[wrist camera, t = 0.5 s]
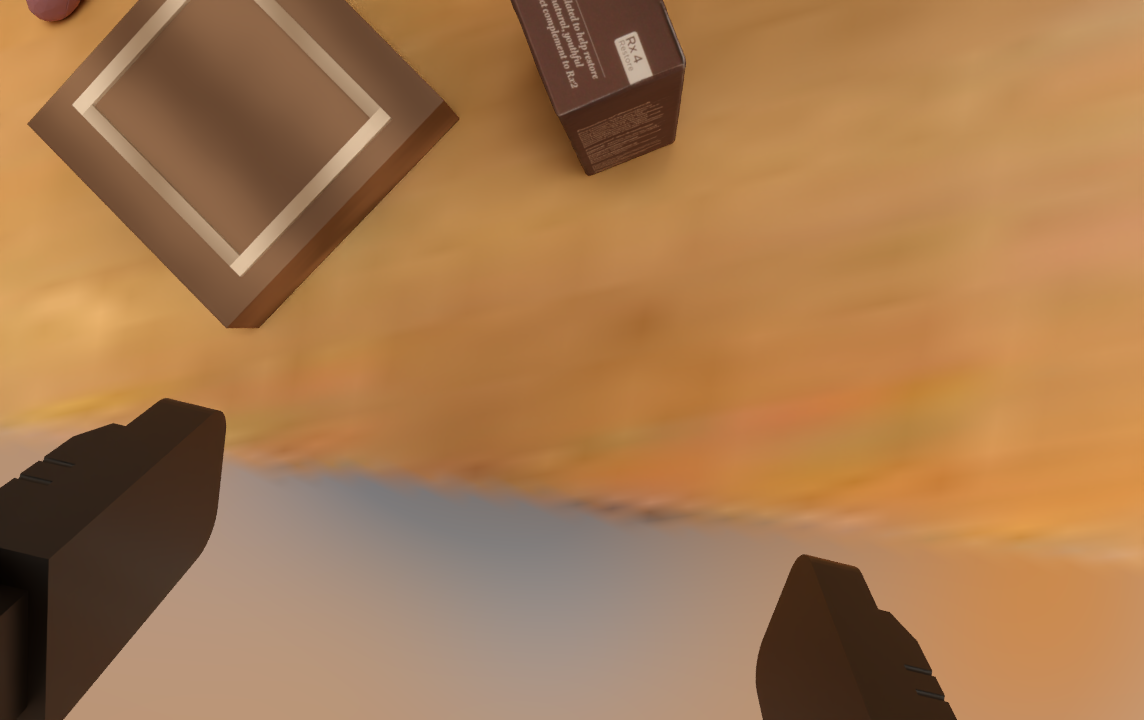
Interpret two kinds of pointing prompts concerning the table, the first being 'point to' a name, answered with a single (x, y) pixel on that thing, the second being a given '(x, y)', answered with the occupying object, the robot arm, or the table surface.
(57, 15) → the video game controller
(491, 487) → the table surface
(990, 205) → the table surface
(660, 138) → the box
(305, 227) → the base board
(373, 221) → the table surface
